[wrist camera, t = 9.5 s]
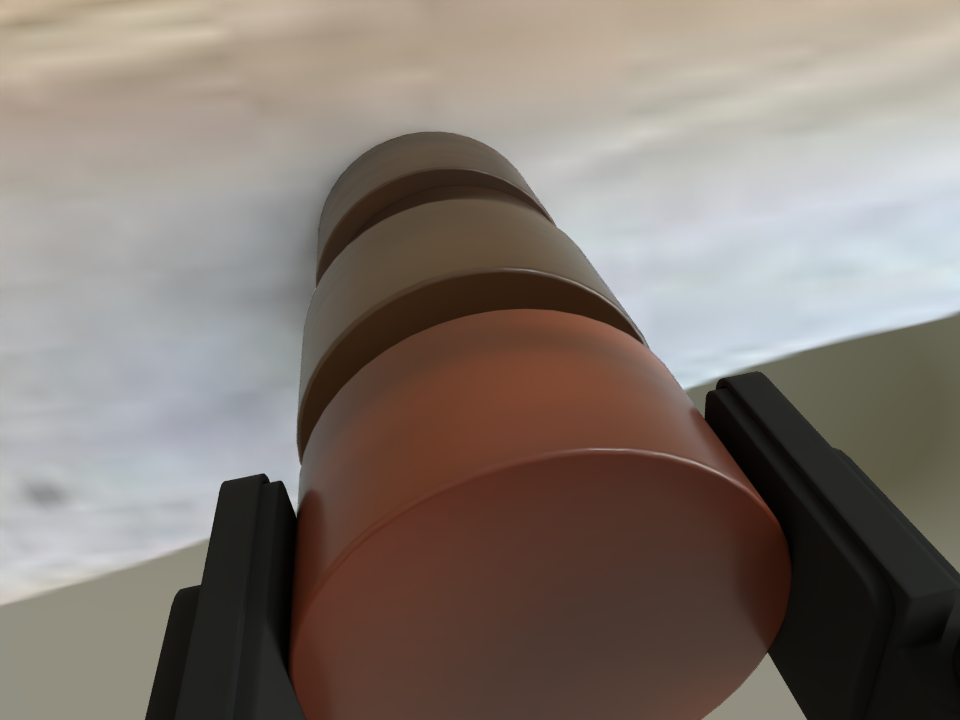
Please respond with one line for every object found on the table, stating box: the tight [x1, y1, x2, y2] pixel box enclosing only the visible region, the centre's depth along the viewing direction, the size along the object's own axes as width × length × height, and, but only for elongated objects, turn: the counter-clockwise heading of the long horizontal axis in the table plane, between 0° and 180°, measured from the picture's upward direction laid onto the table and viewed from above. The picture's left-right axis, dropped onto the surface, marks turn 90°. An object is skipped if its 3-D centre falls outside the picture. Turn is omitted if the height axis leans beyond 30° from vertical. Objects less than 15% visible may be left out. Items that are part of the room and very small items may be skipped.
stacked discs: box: [297, 132, 650, 465], centre depth 16 cm, size 7×7×9 cm
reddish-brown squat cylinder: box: [288, 309, 792, 720], centre depth 10 cm, size 6×6×3 cm
